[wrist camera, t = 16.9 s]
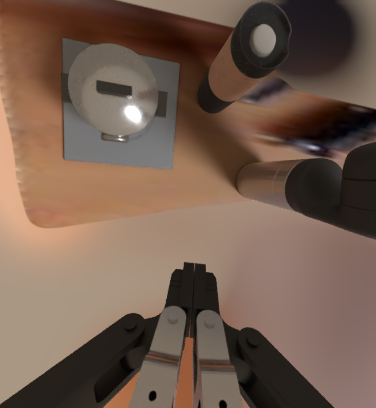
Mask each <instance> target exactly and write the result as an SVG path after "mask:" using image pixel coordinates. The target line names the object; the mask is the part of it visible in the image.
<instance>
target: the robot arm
mask: <svg viewBox="0 0 376 408" xmlns="http://www.w3.org/2000/svg"><path fill="white" fill-rule="evenodd" d="M236 184H237V188H238V191H239V192H240V194H241V195H242V196H244V197H246V198H249V199H252V200H255V201H259V202H263V203H266V204H270V205H274V206H277V207H280V208H284V209H288V210H291V211H295V212H299V213H302V214H303V215H305V216H307V217H310V218H313V219H317V220H320V221H322V222H325V223H328V224H331V225H334V226H336V227H339V228H342V229H344V230H348V231H350V232H353V233H356V234H359V235H362V236H365V237H368V238H372V239H376V142H374V143H369V144H366V145H363V146H360V147H358V148H356V149H354V150H352V151H351V152H350V153H349V154H348V155H347V157H346V160H345V163H344V166H343V170H342V169H341V167H340V166H339V165H338V164H337V163H335V162H334V161H332V160H329V159H324V158H314V159H300V160H287V161H272V162H256V163H249V164H247V165H245V166H244V167H243V168H242V169H241V170H240V171H239V173H238V176H237V181H236ZM190 320H191V323H190ZM190 325H191V326H190ZM189 327H190V328H189ZM189 329H190V338H193V351H192V368H193V408H243V404H242V399H241V395H242V397H243V398H244V400H245V401H246V403H247V404H248V405H249V407H250V408H334V407H333V406H332V405H331V404H330V403H329V402H328V401H327V400H326V399H325V398H324V397H323V396H322V395H321V394H320V393H319V392H318V391H317V390H316V389H315V388H314V387H313V386H312V385H311V384H310V383H309V382H308V381H307V380H306V379H305V378H304V377H303V376H302V375H301V374H300V373H299V372H298V371H297V370H296V369H295V368H294V367H293V365H291V363H289V361H287V359H285V357H284V356H283V355H282V354H281V353H280V352H279V351H278V350H277V349H276V348H275V347H274V346H273V345H272V344H271V343H270V342H269V341H268V340H267V339H266V338H265V337H264V336H263V335H262V334H261V333H260V332H259V331H257V330H255V329H253V328H249V327H247V328H243V329H241V330H240V331H239V330H237V329H235V328H232V327H230V326H229V325H227V324H226V323H225V322H224V321H223V320H222V318H221V316H220V312H219V303H218V293H217V282H216V278H215V276H214V274H213V273H209V272H206V265H205V264H197V263H195V270H194V263H188V262H184V268H183V270H181V269H176V270H175V271H174V272H173V273H172V276H171V280H170V285H169V290H168V295H167V299H166V304H165V308H164V310H163V311H162V312H161V313H160V314H159V315H157V316H155V317H152V318H148V319H144V318H143V317H142V316H141V315H139V314H136V313H131V314H127V315H125V316H124V317H122V318H121V319H119V320H118V321H117V322H115V323H114V324H112V325H111V326H109V327H108V328H107V329H105V330H104V331H102V332H101V333H100V334H98V335H97V336H96V337H94V338H93V339H91V340H90V341H89V342H87V343H86V344H84V345H83V346H82V347H80V348H79V349H77V350H76V351H74V352H73V353H72V354H70V355H69V356H67V357H66V358H65V359H63V360H62V361H60V362H59V363H58V364H56V365H55V366H53V367H52V368H51V369H49V370H48V371H46V372H45V373H44V374H42V375H41V376H39V377H38V378H37V379H35V380H34V381H33V382H31V383H30V384H28V385H27V386H25V387H24V388H23V389H21V390H20V391H18V392H17V393H16V394H14V395H13V396H11V397H10V398H9V399H7V400H6V401H4V402H3V403H2V404H0V408H103V407H104V406H105V405H106V404H107V403H108V402H109V401H110V400H111V399H112V398H113V397H114V396H115V395H116V394H117V393H118V392H119V391H120V390H121V389H122V388H123V387H124V386H125V385H126V384H127V383H128V382H129V381H130V380H131V379H132V378H133V377H134V376H135V375H136V374H137V373H138V372H139V371H140V373H139V376H138V380H137V382H136V386H135V389H134V392H133V395H132V398H131V401H130V404H129V408H174V406H175V399H176V392H177V386H178V379H179V373H180V366H181V360H182V354H183V350H184V346H185V337H189ZM240 394H241V395H240Z"/></svg>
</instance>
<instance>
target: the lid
mask: <svg viewBox="0 0 376 408" xmlns="http://www.w3.org/2000/svg"><path fill="white" fill-rule="evenodd" d="M68 90H69V95H70V98H71V101H72V103H73V105H74V107H75V109H76V111H77V112H78V114H79V115H80V116H81V117H82V118H83V119H84V120H85V121H86V122H87V123H88V124H89V125H90V126H92V127H93V128H94V129H96V130H98V131H100V132H102V133H101V140H103V141H112V142H120V143H128V136H129V135H133V134H135V133H138V132H139V131H141V130H143V129H144V128H145V127H146V126H147V125H148V124H149V123H150V122H151V120H152V119H153V117H154V115H155V112H156V109H157V105H158V87H157V83H156V80H155V77H154V75H153V73H152V71H151V69H150V68H149V66H148V65H147V64H146V62H145V61H144V60H143V59H142V58H141V57H140V56H139V55H137V54H136V53H135V52H133V51H132V50H130V49H128V48H126V47H124V46H121V45H117V44H111V43H103V44H97V45H93V46H91V47H89V48H87V49H85V50H84V51H82V52H81V53H80V54H79V55H78V56H77V57H76V59H75V60H74V62H73V64H72V66H71V68H70V71H69V76H68Z"/></svg>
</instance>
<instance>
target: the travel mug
mask: <svg viewBox="0 0 376 408" xmlns="http://www.w3.org/2000/svg"><path fill="white" fill-rule="evenodd" d="M290 34H291V25H290V22H289V20H288V18H287V16H286V14H285V13H284V11H283V10H282V9H281V8H280V7H279V6H277V5H276V4H274V3H271V2H266V1H262V2H258V3H256V4H254V5H252V6H251V7H250V8H249V9H248V10H247V11H246V12H245V13H244V15H243V16H242V18H241V20H240V21H239V22H238V24H237V26H236V27H235V29H234V30H233V32H232V33H231V35H230V37H229V38H228V40H227V41H226V43H225V44H224V46H223V48H222V49H221V51H220V52H219V54H218V55H217V57H216V59H215V60H214V62H213V63H212V65H211V67H210V69H209V70H208V72H207V74H206V76H205V78H204V79H203V81H202V83H201V85H200V87H199V90H198V102H199V104H200V106H201V107H202V108H203V109H204V110H205V111H206V112H208V113H218V112H220V111H221V110H223V109H224V108H226V107H227V106H229V105H230V104H232V103H233V102H235V101H236V100H237V99H239V98H240V97H241V96H243V95H244V94H245V93H246V92H248V91H249V90H250V89H251V88H252V87H254V86H255V85H256V84H257V83H259V82H260V81H261V80H262V79H264V78H265V77H266V76H267V75H269V74H270V73H271V72H272V71H274V70H275V69H276V68H277V67H279V66H280V65H281V64H282V63H283V62H284V61H285V59H286V58H287V56H288V54H289V51H288V46H289V38H290Z"/></svg>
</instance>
